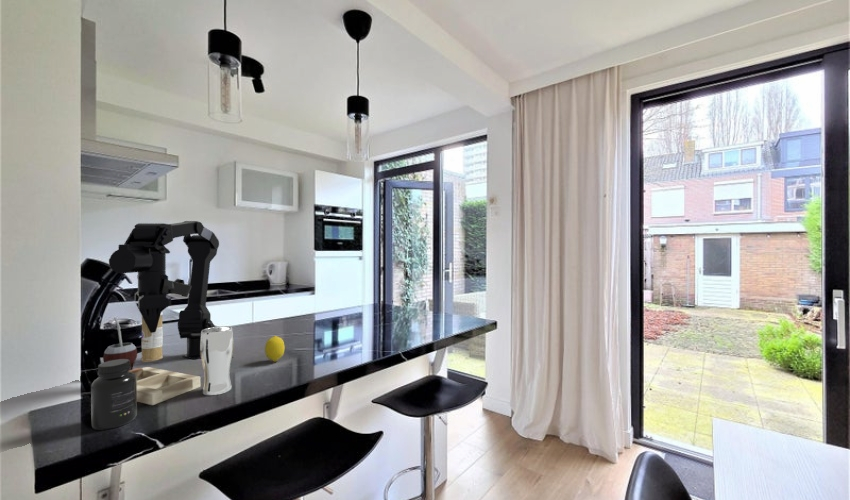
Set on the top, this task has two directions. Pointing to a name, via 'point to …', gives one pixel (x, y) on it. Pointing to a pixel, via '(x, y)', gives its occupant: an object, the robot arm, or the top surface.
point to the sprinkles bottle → (152, 342)
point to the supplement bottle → (113, 395)
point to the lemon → (274, 348)
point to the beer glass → (216, 359)
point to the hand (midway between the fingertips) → (152, 330)
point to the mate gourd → (121, 350)
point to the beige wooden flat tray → (162, 384)
